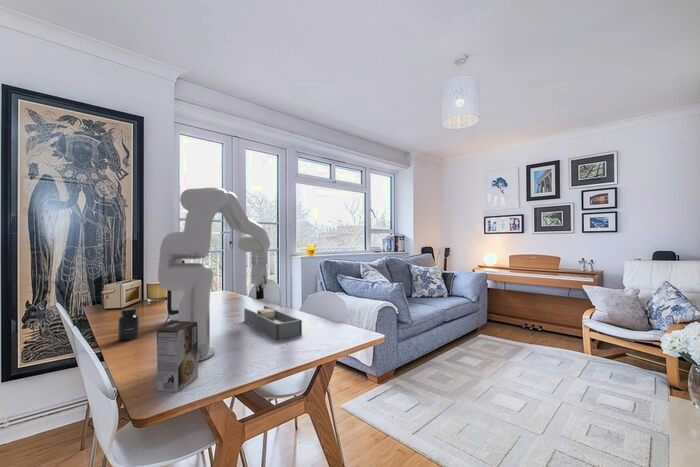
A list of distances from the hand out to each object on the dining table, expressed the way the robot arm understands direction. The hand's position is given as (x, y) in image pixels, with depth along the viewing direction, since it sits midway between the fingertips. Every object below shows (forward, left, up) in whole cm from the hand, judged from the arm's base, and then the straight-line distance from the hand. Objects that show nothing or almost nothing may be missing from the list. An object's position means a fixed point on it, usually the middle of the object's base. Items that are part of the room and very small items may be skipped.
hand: (259, 298), depth 156 cm
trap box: (-14, 0, -11) cm, 18 cm away
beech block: (-8, 0, -8) cm, 12 cm away
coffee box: (-52, +43, -11) cm, 69 cm away
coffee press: (+23, +30, -11) cm, 40 cm away
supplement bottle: (+6, +52, -11) cm, 54 cm away
